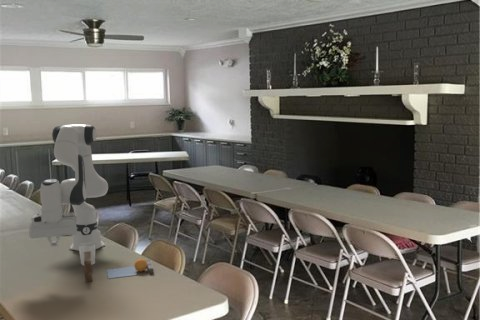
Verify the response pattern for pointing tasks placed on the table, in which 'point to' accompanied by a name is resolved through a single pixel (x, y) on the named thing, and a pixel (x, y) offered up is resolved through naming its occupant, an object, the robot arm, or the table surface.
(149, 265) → the grey rectangular bar
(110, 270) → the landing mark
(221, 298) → the table surface
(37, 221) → the robot arm
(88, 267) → the bridge
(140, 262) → the ball
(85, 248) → the white cup
